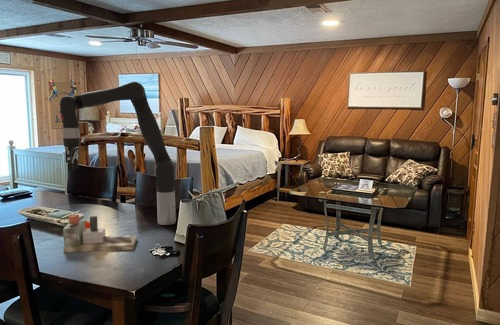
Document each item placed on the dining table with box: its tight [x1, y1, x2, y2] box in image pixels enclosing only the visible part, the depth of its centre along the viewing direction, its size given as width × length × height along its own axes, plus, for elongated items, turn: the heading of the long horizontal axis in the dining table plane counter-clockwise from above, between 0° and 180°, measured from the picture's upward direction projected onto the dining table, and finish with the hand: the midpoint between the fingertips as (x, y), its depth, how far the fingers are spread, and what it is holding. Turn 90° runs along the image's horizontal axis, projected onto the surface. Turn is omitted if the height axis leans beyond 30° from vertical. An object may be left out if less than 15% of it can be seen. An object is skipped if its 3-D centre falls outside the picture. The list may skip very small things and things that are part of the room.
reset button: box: [68, 214, 80, 224], centre depth 164 cm, size 4×4×3 cm
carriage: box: [83, 215, 106, 244], centre depth 166 cm, size 8×6×11 cm
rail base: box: [62, 220, 138, 253], centre depth 167 cm, size 28×12×10 cm, turn 99°
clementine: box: [84, 220, 90, 229], centre depth 181 cm, size 8×7×7 cm
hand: (73, 169), depth 191 cm, fingers open, 8 cm apart
